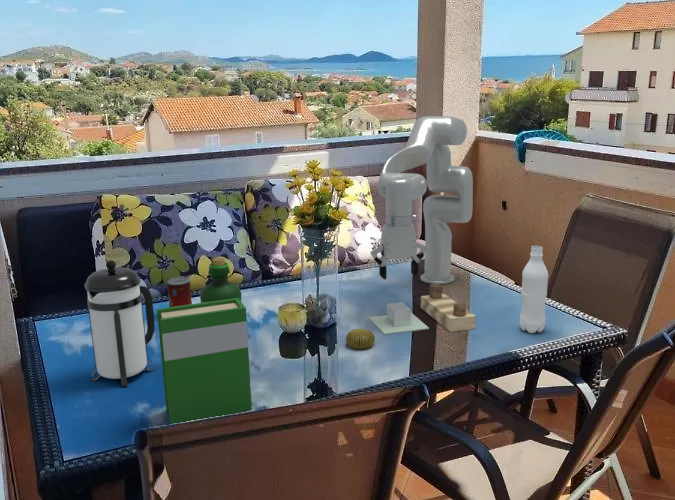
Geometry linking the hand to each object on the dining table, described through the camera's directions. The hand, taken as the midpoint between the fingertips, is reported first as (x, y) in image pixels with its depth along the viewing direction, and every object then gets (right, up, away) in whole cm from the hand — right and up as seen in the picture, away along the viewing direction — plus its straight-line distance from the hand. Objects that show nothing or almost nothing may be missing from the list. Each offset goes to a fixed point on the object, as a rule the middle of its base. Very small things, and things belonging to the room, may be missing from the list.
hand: (398, 276), depth 185 cm
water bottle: (+38, -16, -4) cm, 42 cm away
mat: (0, -14, +3) cm, 15 cm away
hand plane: (+15, -13, +7) cm, 22 cm away
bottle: (-48, -22, -21) cm, 57 cm away
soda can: (-68, -13, +13) cm, 71 cm away
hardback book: (-47, -28, -46) cm, 72 cm away
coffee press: (-72, -24, -27) cm, 81 cm away
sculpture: (-12, -19, -12) cm, 25 cm away
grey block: (0, -14, +3) cm, 14 cm away
